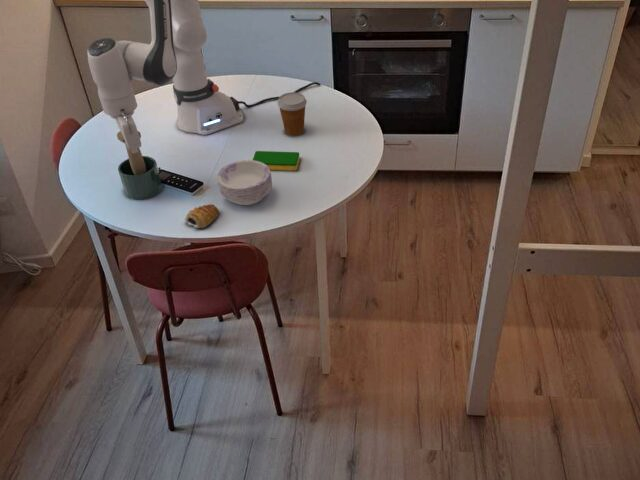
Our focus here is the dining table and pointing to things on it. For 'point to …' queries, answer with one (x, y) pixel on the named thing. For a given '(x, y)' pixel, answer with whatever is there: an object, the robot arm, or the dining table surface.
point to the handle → (134, 157)
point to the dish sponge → (278, 159)
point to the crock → (140, 179)
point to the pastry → (202, 216)
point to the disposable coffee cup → (292, 112)
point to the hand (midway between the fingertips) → (132, 147)
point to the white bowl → (244, 181)
